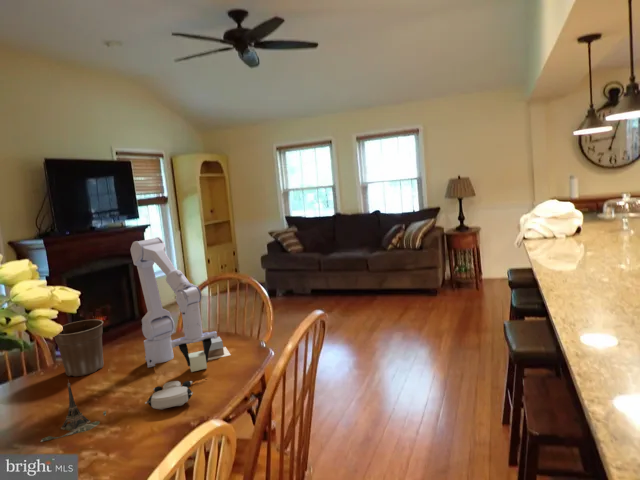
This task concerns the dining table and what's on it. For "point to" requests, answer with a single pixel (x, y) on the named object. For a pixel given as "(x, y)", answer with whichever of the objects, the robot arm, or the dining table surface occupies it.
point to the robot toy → (170, 395)
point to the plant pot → (81, 347)
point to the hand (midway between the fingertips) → (197, 363)
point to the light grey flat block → (216, 344)
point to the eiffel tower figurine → (74, 419)
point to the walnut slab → (216, 352)
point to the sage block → (197, 361)
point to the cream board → (226, 353)
